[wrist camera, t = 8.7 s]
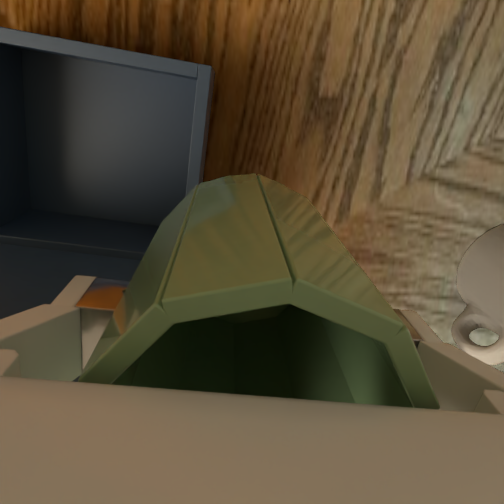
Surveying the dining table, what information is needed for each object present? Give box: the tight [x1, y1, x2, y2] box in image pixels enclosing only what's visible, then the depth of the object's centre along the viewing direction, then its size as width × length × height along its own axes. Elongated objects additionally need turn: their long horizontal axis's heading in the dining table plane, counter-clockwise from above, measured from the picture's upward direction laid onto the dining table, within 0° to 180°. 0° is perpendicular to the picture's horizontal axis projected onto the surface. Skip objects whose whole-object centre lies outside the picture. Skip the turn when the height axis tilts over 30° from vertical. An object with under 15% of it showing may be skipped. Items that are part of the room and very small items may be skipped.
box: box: [0, 27, 215, 260], centre depth 27 cm, size 14×15×7 cm
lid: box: [0, 244, 141, 382], centre depth 20 cm, size 14×15×4 cm
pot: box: [78, 173, 440, 410], centre depth 11 cm, size 6×7×9 cm
